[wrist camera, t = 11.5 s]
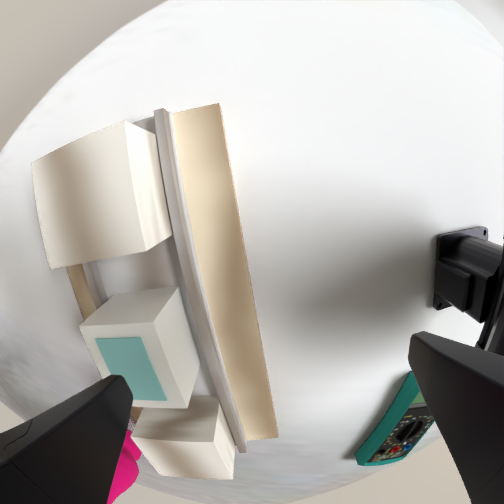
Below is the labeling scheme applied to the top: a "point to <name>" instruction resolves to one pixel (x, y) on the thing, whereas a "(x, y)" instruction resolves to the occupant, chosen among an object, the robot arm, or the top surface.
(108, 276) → the rail panel
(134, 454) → the pepper mill
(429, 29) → the top surface
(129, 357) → the block
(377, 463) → the digital multimeter
